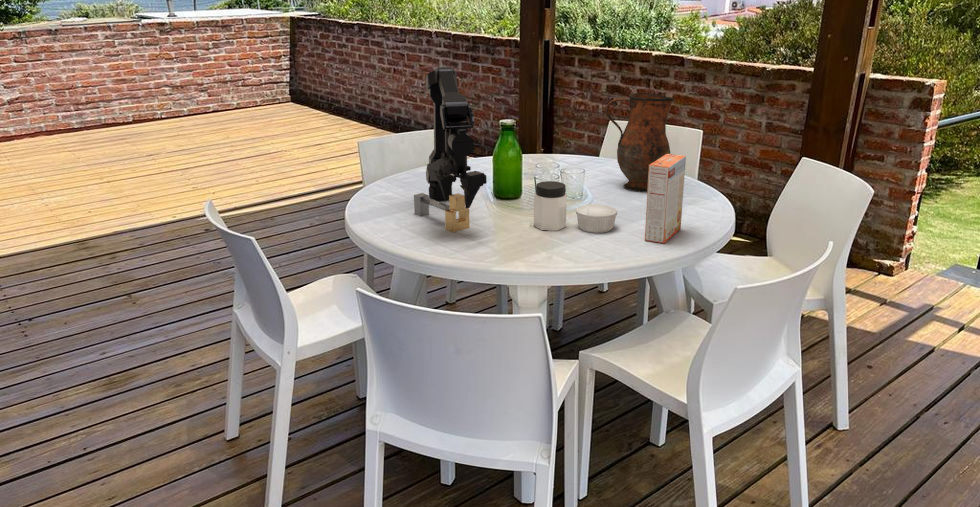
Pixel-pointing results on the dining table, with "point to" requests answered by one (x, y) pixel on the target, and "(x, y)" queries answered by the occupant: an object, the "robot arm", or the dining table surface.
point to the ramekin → (596, 218)
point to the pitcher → (642, 137)
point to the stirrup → (450, 215)
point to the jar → (550, 206)
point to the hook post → (426, 204)
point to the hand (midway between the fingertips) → (457, 204)
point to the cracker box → (664, 198)
